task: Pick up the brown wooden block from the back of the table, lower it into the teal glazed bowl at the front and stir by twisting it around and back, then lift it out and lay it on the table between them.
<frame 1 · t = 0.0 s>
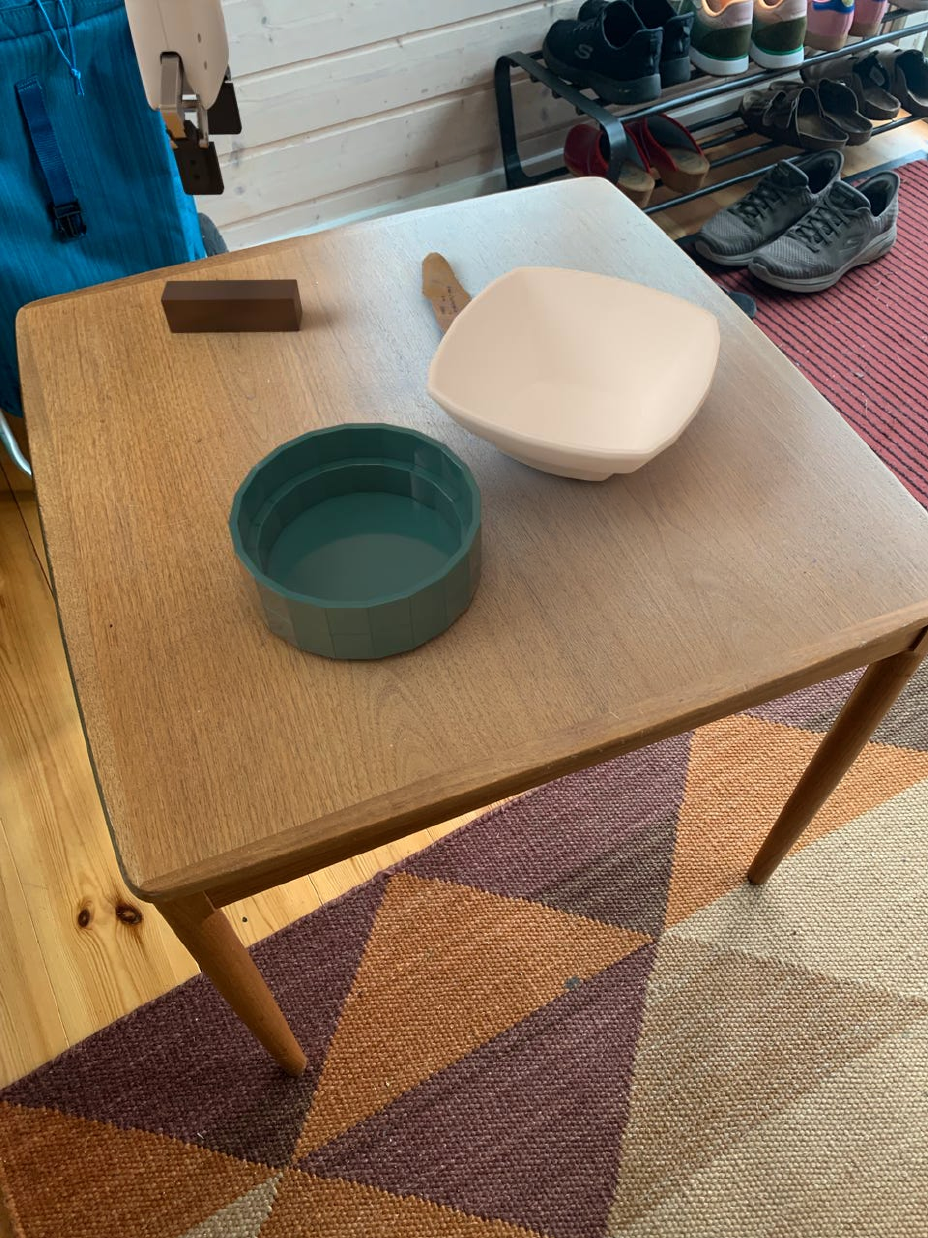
hand: (214, 161, 77), 14 cm above the table, tool pointing down, fingers open, 9 cm apart
bowl: (568, 437, 77), on the table
stone tool: (450, 308, 88), on the table
brown wooden block: (237, 322, 87), on the table
mixing bowl: (365, 567, 69), on the table
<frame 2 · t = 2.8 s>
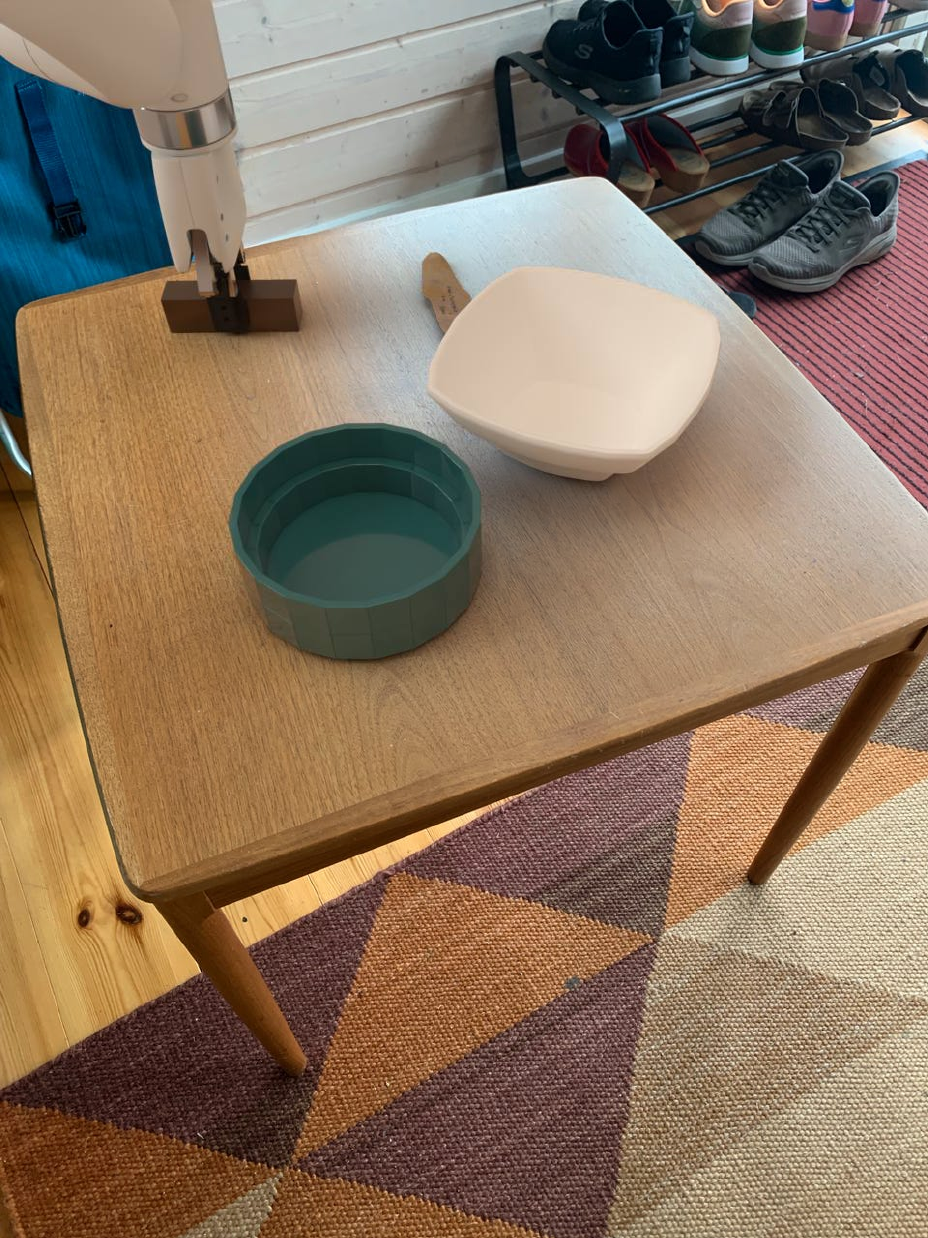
hand: (235, 315, 86), 1 cm above the table, tool pointing down, fingers closed on brown wooden block, 3 cm apart
brown wooden block: (237, 321, 87), on the table, touching gripper
everything else where it was.
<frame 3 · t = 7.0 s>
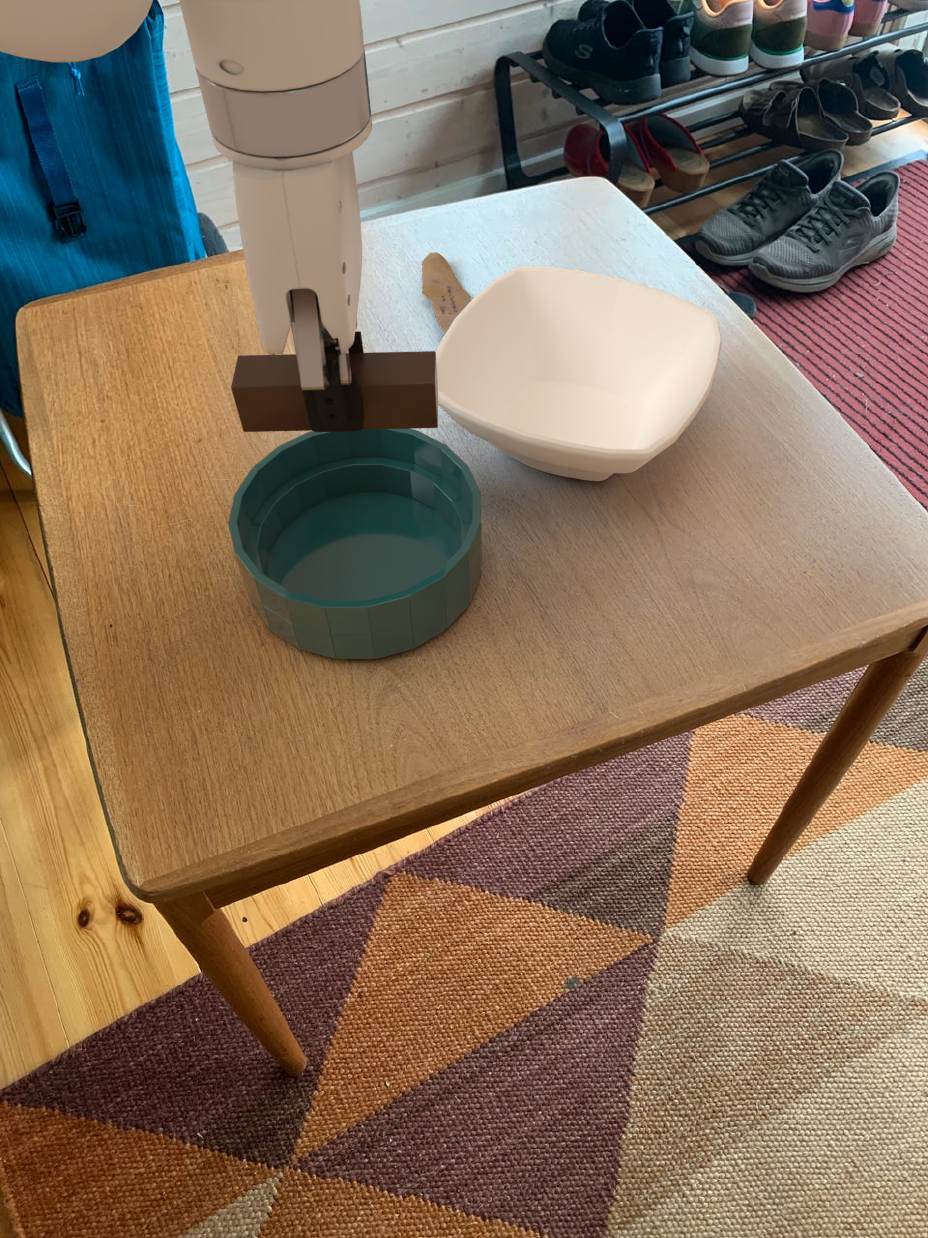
hand: (339, 405, 57), 15 cm above the table, tool pointing down, fingers closed on brown wooden block, 3 cm apart
brown wooden block: (342, 414, 58), point 14 cm above the table, touching gripper
everything else where it was.
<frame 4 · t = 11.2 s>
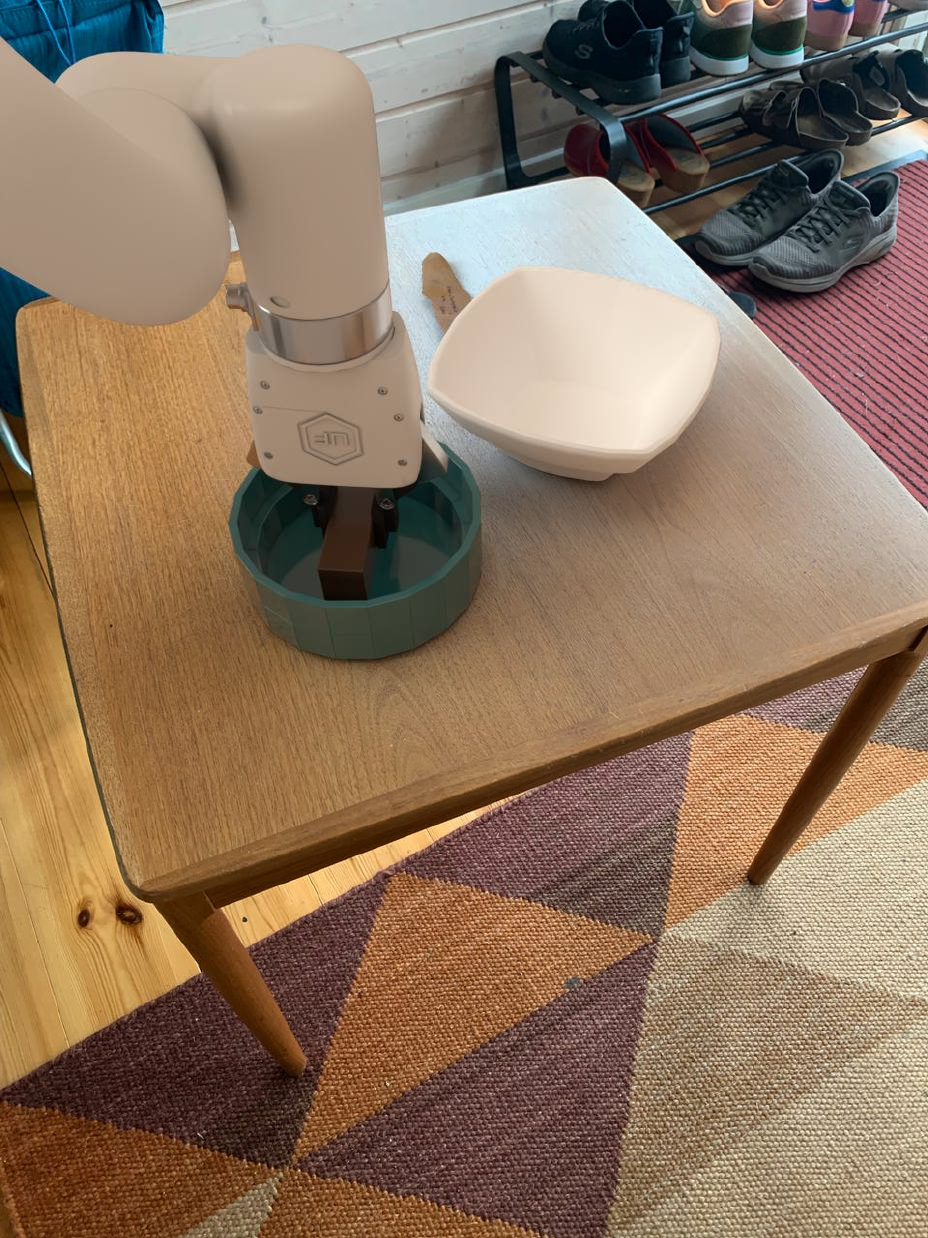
hand: (358, 530, 65), 4 cm above the table, tool pointing down, fingers closed on brown wooden block, 3 cm apart
brown wooden block: (359, 536, 66), point 3 cm above the table, touching gripper
everything else where it was.
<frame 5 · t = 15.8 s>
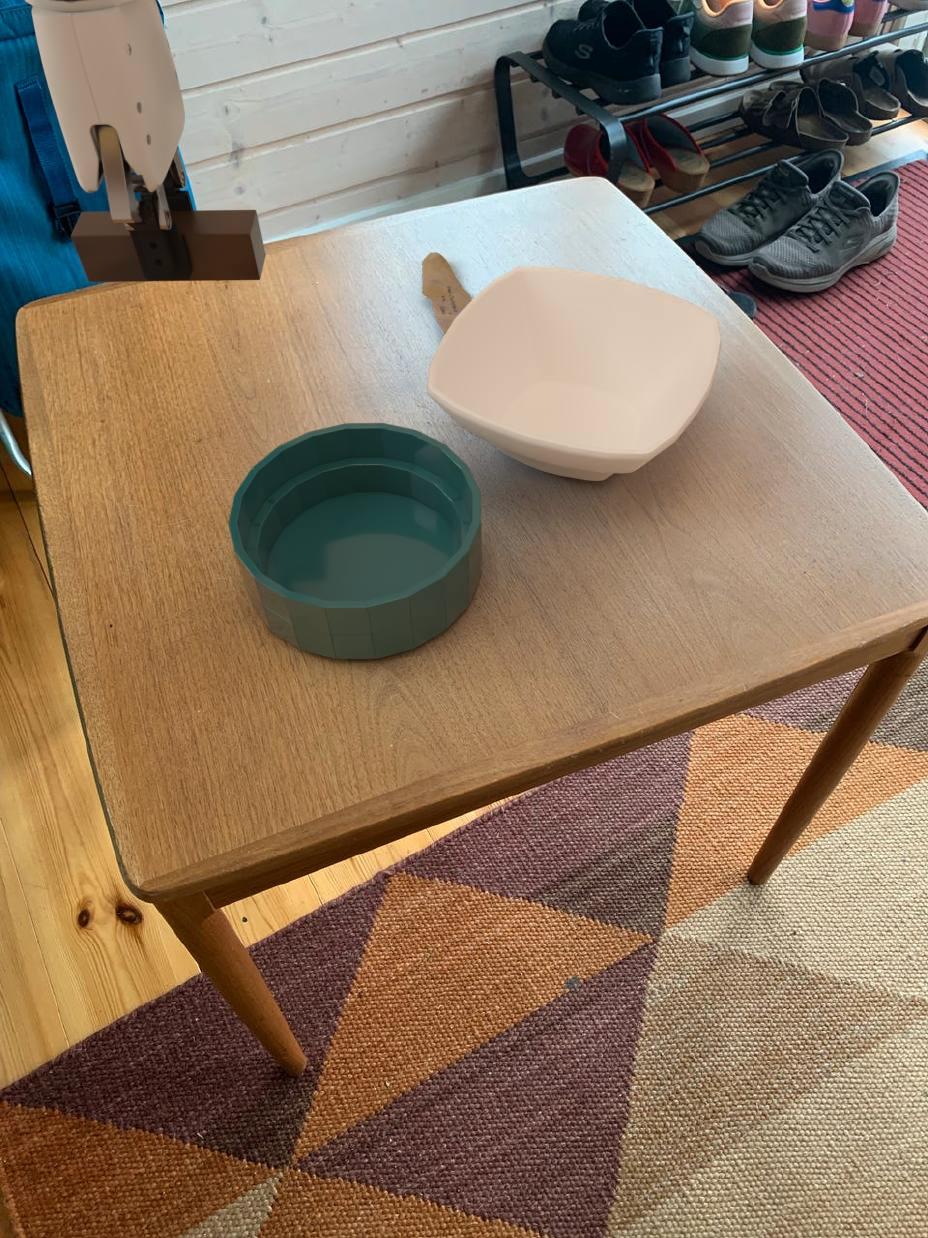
hand: (174, 259, 64), 16 cm above the table, tool pointing down, fingers closed on brown wooden block, 3 cm apart
brown wooden block: (178, 268, 65), point 16 cm above the table, touching gripper
everything else where it was.
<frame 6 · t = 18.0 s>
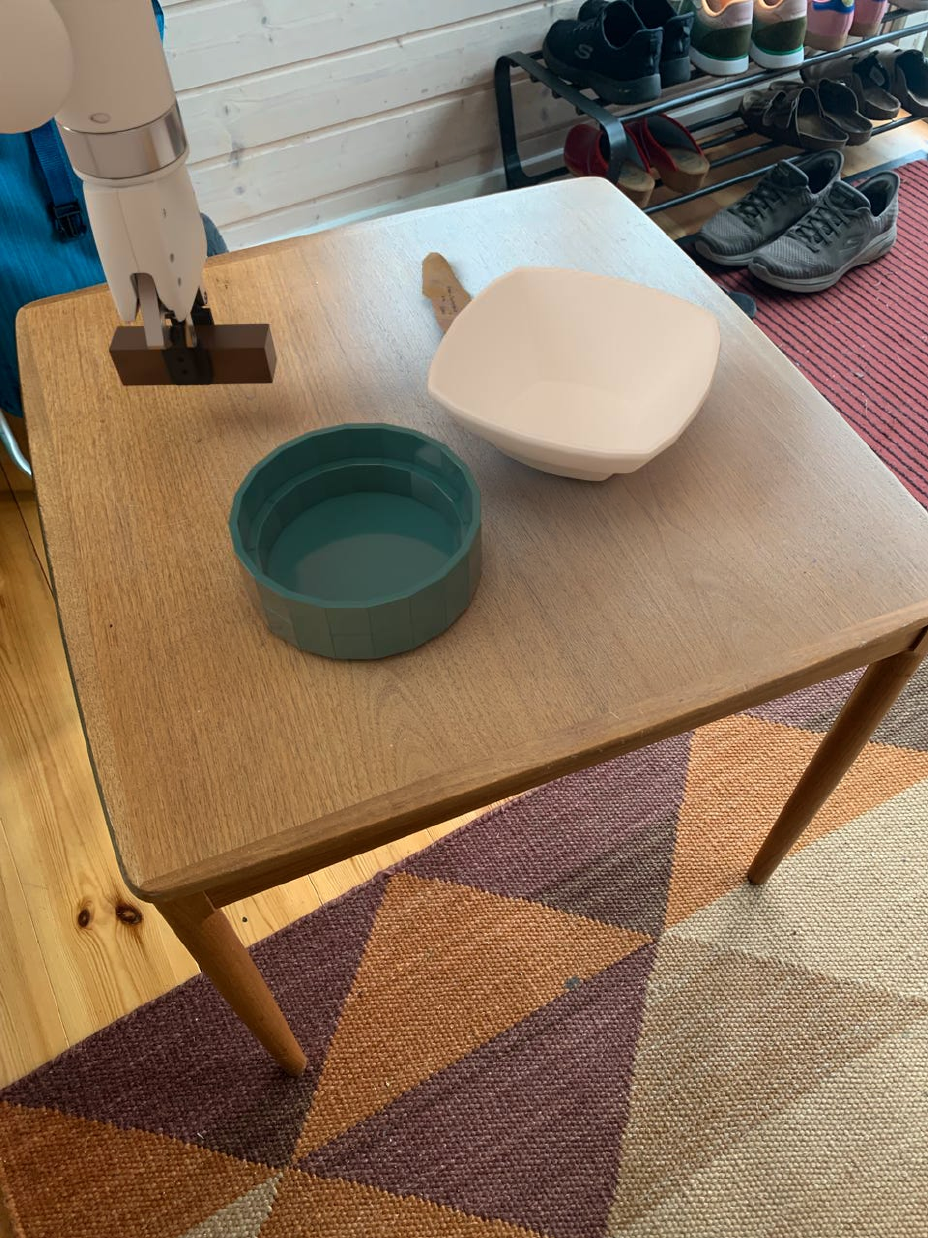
hand: (197, 365, 74), 6 cm above the table, tool pointing down, fingers closed on brown wooden block, 3 cm apart
brown wooden block: (200, 372, 74), point 5 cm above the table, touching gripper
everything else where it was.
when the fingers open (1 cm above the table, at t = 19.5 s): brown wooden block stays where it is, on the table.
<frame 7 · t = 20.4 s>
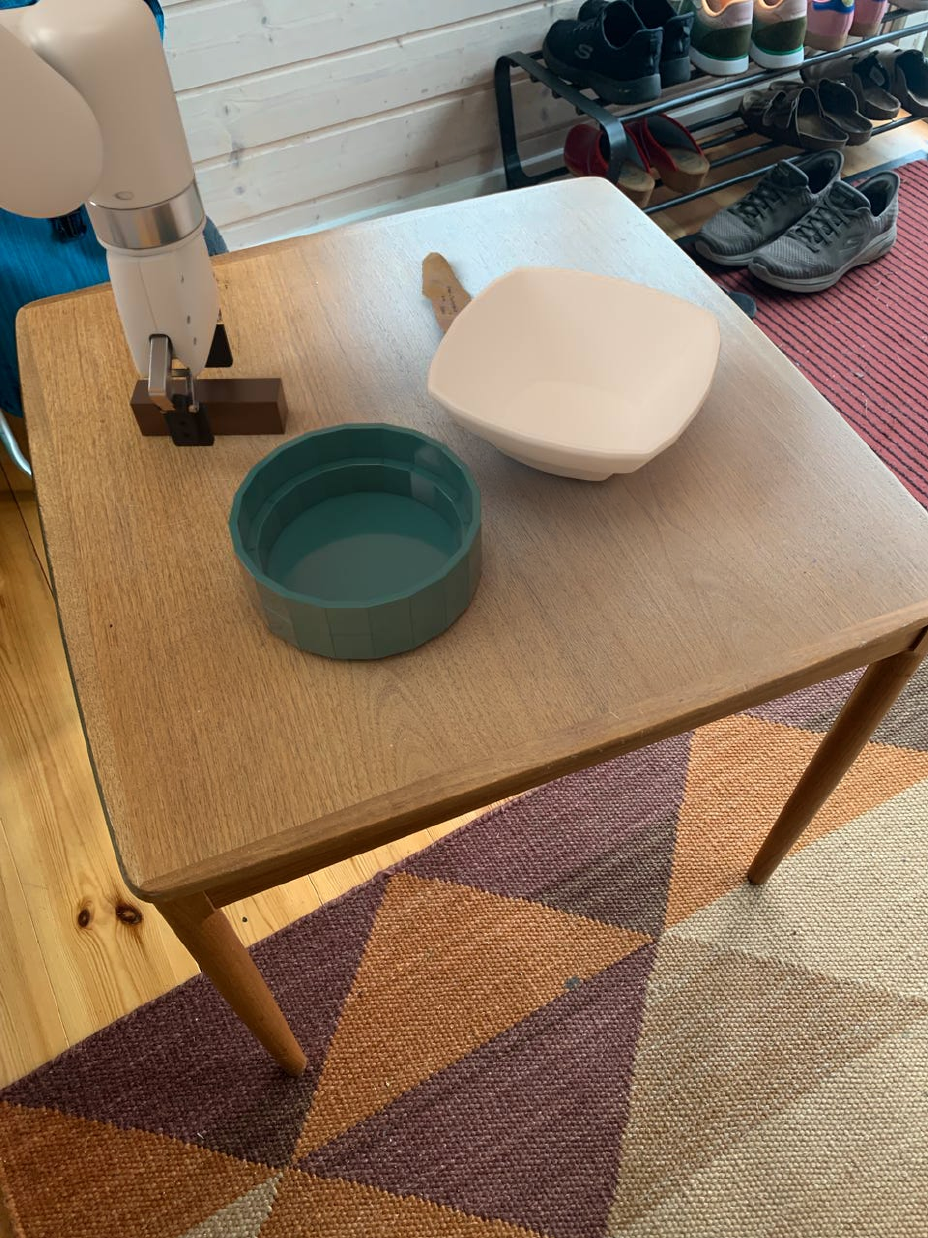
hand: (205, 403, 76), 2 cm above the table, tool pointing down, fingers open, 9 cm apart
brown wooden block: (216, 422, 78), on the table
everything else where it was.
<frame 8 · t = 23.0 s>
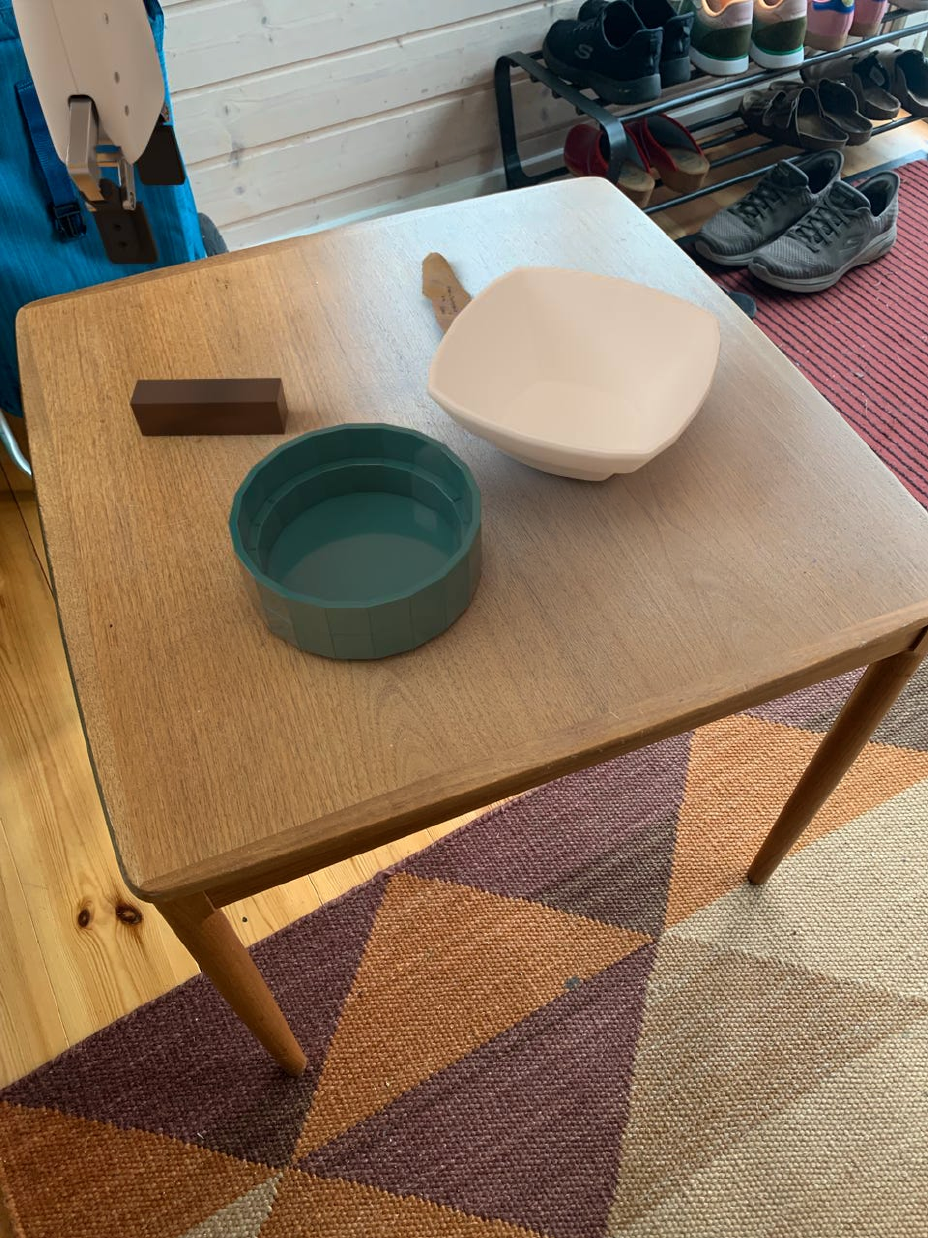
hand: (150, 220, 63), 18 cm above the table, tool pointing down, fingers open, 9 cm apart
nothing on the table moved.
at the end: brown wooden block inside the target area (0.3 cm from its centre), on the table; the gripper is holding nothing; brown wooden block tilted 0° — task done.
